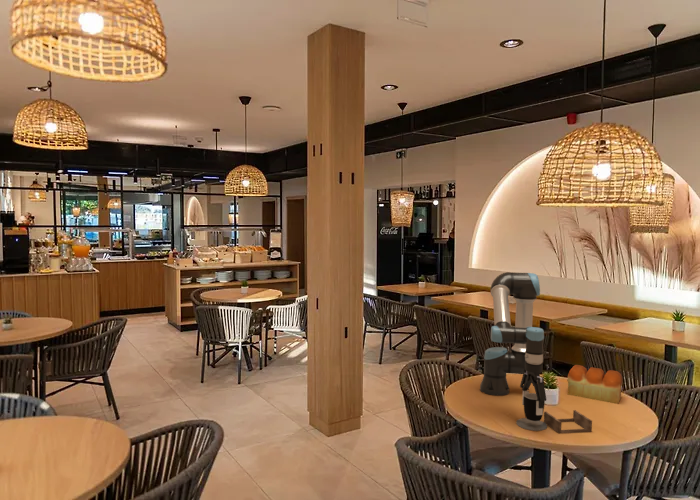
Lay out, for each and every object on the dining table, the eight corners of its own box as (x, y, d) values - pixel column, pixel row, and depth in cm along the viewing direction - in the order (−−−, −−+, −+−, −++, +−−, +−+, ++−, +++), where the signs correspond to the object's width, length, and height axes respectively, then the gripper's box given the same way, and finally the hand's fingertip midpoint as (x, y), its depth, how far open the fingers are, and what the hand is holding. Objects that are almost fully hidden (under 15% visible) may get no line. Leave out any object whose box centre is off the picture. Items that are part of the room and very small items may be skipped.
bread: (621, 397, 273) (623, 370, 272) (619, 404, 263) (620, 376, 262) (571, 388, 287) (572, 362, 286) (566, 394, 277) (567, 367, 276)
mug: (547, 422, 228) (548, 399, 228) (528, 422, 227) (529, 399, 227) (535, 412, 240) (535, 390, 240) (516, 412, 239) (517, 391, 239)
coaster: (511, 420, 240) (511, 418, 240) (537, 418, 242) (537, 417, 242) (524, 431, 227) (525, 430, 227) (552, 430, 229) (552, 428, 229)
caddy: (543, 422, 238) (544, 411, 237) (575, 420, 240) (575, 410, 240) (558, 433, 225) (559, 422, 225) (591, 431, 228) (592, 420, 227)
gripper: (513, 355, 244) (512, 400, 245) (539, 370, 220) (538, 420, 221) (528, 355, 245) (526, 400, 246) (556, 369, 221) (554, 419, 222)
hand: (532, 409), depth 234 cm, fingers closed on mug, 12 cm apart
